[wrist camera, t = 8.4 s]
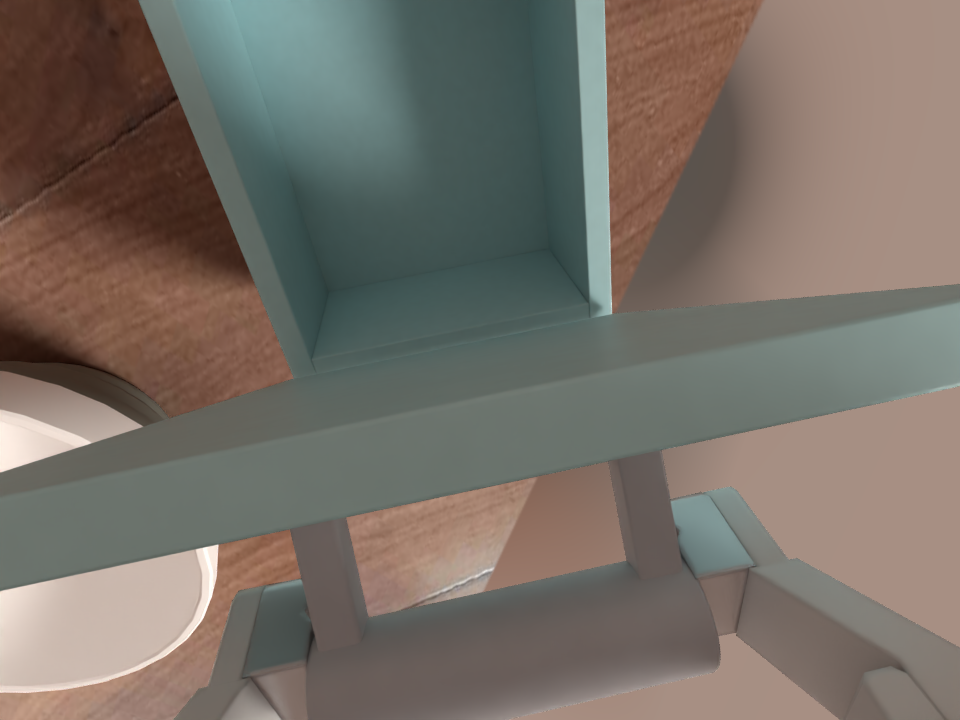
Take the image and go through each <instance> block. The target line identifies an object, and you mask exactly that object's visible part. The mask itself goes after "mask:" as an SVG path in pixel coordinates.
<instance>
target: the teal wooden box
mask: <svg viewBox="0 0 960 720" xmlns="http://www.w3.org/2000/svg"><path fill="white" fill-rule="evenodd" d="M138 1H139V4H140V6H141V9H142V11H143V14H144V16H145V18H146V21H147V23H148V26H149V28H150V31H151V33H152V35H153V38H154V40H155V43H156V45H157V47H158V50H159V52H160V55H161V57H162V60H163V62H164V64H165V67H166V69H167V72H168V74H169V77H170V79H171V81H172V84H173V86H174V89H175V91H176V94H177V96H178V98H179V101H180V103H181V106H182V108H183V111H184V113H185V115H186V118H187V120H188V123H189V125H190V128H191V130H192V132H193V135H194V137H195V140H196V142H197V144H198V147H199V149H200V152H201V154H202V157H203V159H204V161H205V164H206V166H207V169H208V171H209V174H210V176H211V178H212V181H213V183H214V186H215V188H216V191H217V193H218V195H219V198H220V200H221V203H222V205H223V208H224V210H225V212H226V215H227V217H228V220H229V222H230V224H231V227H232V229H233V232H234V234H235V237H236V239H237V241H238V244H239V246H240V249H241V251H242V254H243V256H244V258H245V261H246V263H247V266H248V268H249V271H250V273H251V275H252V278H253V280H254V283H255V285H256V288H257V290H258V292H259V295H260V297H261V300H262V302H263V305H264V307H265V309H266V312H267V314H268V317H269V319H270V321H271V324H272V326H273V329H274V331H275V334H276V336H277V338H278V341H279V343H280V346H281V348H282V351H283V353H284V355H285V358H286V360H287V363H288V365H289V368H290V370H291V372H292V375H293V377H294V379H295V378H300V377H305V376H310V375H315V374H319V373H324V372H329V371H334V370H339V369H344V368H349V367H354V366H359V365H364V364H369V363H374V362H378V361H383V360H388V359H393V358H398V357H403V356H408V355H413V354H418V353H423V352H428V351H432V350H437V349H442V348H447V347H452V346H457V345H462V344H467V343H472V342H477V341H482V340H487V339H491V338H496V337H501V336H506V335H511V334H516V333H521V332H526V331H531V330H536V329H541V328H546V327H550V326H555V325H560V324H565V323H570V322H575V321H580V320H585V319H590V318H595V317H600V316H604V315H609V314H612V298H611V256H610V214H609V171H608V129H607V87H606V44H605V2H604V0H138Z"/></svg>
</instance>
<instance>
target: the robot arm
mask: <svg viewBox="0 0 960 720" xmlns="http://www.w3.org/2000/svg"><path fill="white" fill-rule="evenodd" d="M670 500H671V505H672V511H673V517H674V522H675V528H676V533H677V539H678V544H679V550H680V555H681V558H682V559H683V560H684V562H685V563H686V564H687V566H688V567H689V569H690V571H691V572H692V574H693V576H694V578H695V580H698V581H699V582H700V584H701V586H702V588H703V591H704V593H705V595H706V598H707V600H708V603H709V605H710V608H711V611H712V614H713V617H714V621H715V624H716V628H717V633H718V636H720V635H726V634H731V633H736V632H737V633H736V636H738V637H739V638H740V639H741V640H743V641H744V642H745V643H746V644H747V645H749V646H750V647H751V648H753V649H754V650H755V651H756V652H757V653H759V654H760V655H761V656H762V657H763V658H765V659H766V660H767V661H768V662H770V663H771V664H772V665H773V666H774V667H776V668H777V669H778V670H779V671H781V672H782V673H783V674H785V675H786V676H787V677H788V678H789V679H790V680H792V681H793V682H794V683H795V684H797V685H798V686H799V687H800V688H802V689H803V690H804V691H805V692H806V693H808V694H809V695H810V696H811V697H813V698H814V699H815V700H816V701H818V702H819V703H820V704H821V705H823V706H824V707H825V708H826V709H827V710H829V711H830V712H831V713H832V714H834V715H835V716H836V717H838V718H839V719H840V720H960V648H959V647H958V646H956V645H954V644H952V643H950V642H949V641H947V640H945V639H943V638H941V637H939V636H938V635H936V634H934V633H932V632H931V631H929V630H927V629H925V628H923V627H921V626H920V625H918V624H916V623H914V622H912V621H910V620H908V619H907V618H905V617H903V616H901V615H899V614H898V613H896V612H894V611H892V610H891V609H889V608H887V607H885V606H883V605H881V604H880V603H878V602H876V601H874V600H872V599H870V598H869V597H867V596H865V595H863V594H861V593H859V592H858V591H856V590H854V589H852V588H850V587H849V586H847V585H845V584H843V583H841V582H840V581H838V580H836V579H834V578H832V577H831V576H829V575H827V574H825V573H823V572H821V571H820V570H818V569H816V568H814V567H812V566H810V565H809V564H807V563H805V562H803V561H801V560H800V559H798V558H796V559H790V560H789V559H788V558H787V557H786V555H785V554H784V553H783V551H782V550H781V549H780V547H779V546H778V545H777V543H776V542H775V541H774V540H773V538H772V537H771V535H770V534H769V533H768V531H767V530H766V529H765V527H764V526H763V525H762V523H761V522H760V521H759V519H758V518H757V517H756V515H755V514H754V513H753V511H752V510H751V509H750V507H749V506H748V505H747V503H746V502H745V501H744V499H743V498H742V497H741V495H740V494H739V493H738V491H737V490H735V489H734V488H732V487H726V488H721V489H717V490H712V491H708V492H704V493H702V492H700V493H695V494H691V495H686V496H682V497H678V498H673V499H670ZM314 637H315V635H314V631H313V626H312V622H311V618H310V613H309V609H308V605H307V600H306V596H305V592H304V588H303V583H302V579H296V580H291V581H285V582H280V583H275V584H269V585H264V586H259V587H254V588H249V589H244V590H239V591H238V593H237V594H236V596H235V597H234V599H233V600H232V603H231V607H230V610H229V614H228V617H227V621H226V624H225V628H224V631H223V635H222V638H221V642H220V645H219V648H218V652H217V655H216V659H215V662H214V666H213V669H212V673H211V676H210V680H209V683H208V686H207V687H203V688H199V689H198V690H197V691H196V693H195V694H194V695H193V696H192V697H191V699H190V700H189V701H188V702H187V704H186V705H185V706H184V707H183V708H182V710H181V711H180V712H179V713H178V714H177V716H176V717H175V718H174V719H173V720H308V717H307V708H306V669H307V663H308V657H309V652H310V648H311V644H312V641H313V639H314Z"/></svg>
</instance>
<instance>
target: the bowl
mask: <svg viewBox="0 0 960 720" xmlns="http://www.w3.org/2000/svg"><path fill="white" fill-rule="evenodd" d="M166 419H169V417H168V416H167V415H166V413H165V412H164V411H163V410H162V409H161V407H160V406H159V405H158V404H157V403H156V402H154V401H153V400H152V399H151V398H150V397H148V396H147V395H146V394H145V393H144V392H142V391H141V390H139V389H137V388H136V387H134V386H132V385H131V384H129V383H127V382H126V381H124V380H121V379H119V378H117V377H115V376H112V375H110V374H108V373H105V372H102V371H99V370H95V369H92V368H88V367H84V366H80V365H72V364H65V363H29V362H21V361H0V472H3V471H6V470H10V469H13V468H16V467H19V466H22V465H25V464H28V463H31V462H35V461H38V460H41V459H44V458H47V457H50V456H53V455H56V454H60V453H63V452H66V451H69V450H72V449H75V448H78V447H81V446H85V445H88V444H91V443H94V442H97V441H100V440H103V439H106V438H110V437H113V436H116V435H119V434H122V433H125V432H128V431H131V430H135V429H138V428H141V427H144V426H147V425H150V424H153V423H156V422H160V421H163V420H166ZM217 561H218V545H214V546H209V547H205V548H200V549H195V550H191V551H186V552H181V553H177V554H172V555H167V556H163V557H158V558H153V559H149V560H144V561H139V562H134V563H130V564H125V565H120V566H116V567H111V568H106V569H102V570H97V571H92V572H88V573H83V574H78V575H74V576H69V577H64V578H59V579H55V580H50V581H45V582H41V583H36V584H31V585H27V586H22V587H17V588H13V589H8V590H3V591H0V692H17V693H30V692H41V691H52V690H63V689H71V688H76V687H81V686H86V685H91V684H96V683H101V682H105V681H108V680H111V679H114V678H117V677H120V676H123V675H126V674H129V673H132V672H135V671H137V670H139V669H141V668H143V667H145V666H147V665H149V664H151V663H153V662H155V661H157V660H159V659H161V658H163V657H165V656H166V655H167V654H169V653H170V652H171V651H173V650H174V649H175V648H176V647H178V646H179V645H180V644H182V643H183V642H184V641H185V640H187V639H188V637H189V636H190V635H191V634H192V632H193V631H194V630H195V629H196V627H197V626H198V625H199V623H200V622H201V621H202V620H203V618H204V615H205V613H206V610H207V607H208V605H209V602H210V600H211V597H212V594H213V590H214V585H215V581H216V577H217Z"/></svg>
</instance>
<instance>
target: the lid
mask: <svg viewBox="0 0 960 720" xmlns="http://www.w3.org/2000/svg"><path fill="white" fill-rule="evenodd" d="M959 386H960V284H956V285H945V286H933V287H922V288H910V289H898V290H886V291H874V292H862V293H851V294H839V295H828V296H815V297H805V298H804V297H803V298H792V299H780V300H770V301H757V302H746V303H733V304H722V305H709V306H699V307H698V306H697V307H686V308H674V309H662V310H652V311H651V310H650V311H639V312H627V313H615V314H609V315H604V316H600V317H595V318H590V319H585V320H580V321H575V322H570V323H565V324H560V325H555V326H550V327H546V328H541V329H536V330H531V331H526V332H521V333H516V334H511V335H506V336H501V337H496V338H491V339H487V340H482V341H477V342H472V343H467V344H462V345H457V346H452V347H447V348H442V349H437V350H432V351H428V352H423V353H418V354H413V355H408V356H403V357H398V358H393V359H388V360H383V361H378V362H374V363H369V364H364V365H359V366H354V367H349V368H344V369H339V370H334V371H329V372H324V373H319V374H315V375H310V376H305V377H300V378H295V379H291V380H288V381H284V382H281V383H278V384H275V385H272V386H269V387H266V388H263V389H259V390H256V391H253V392H250V393H247V394H244V395H241V396H238V397H234V398H231V399H228V400H225V401H222V402H219V403H216V404H213V405H209V406H206V407H203V408H200V409H197V410H194V411H191V412H188V413H184V414H181V415H178V416H175V417H172V418H169V419H166V420H163V421H160V422H156V423H153V424H150V425H147V426H144V427H141V428H138V429H135V430H131V431H128V432H125V433H122V434H119V435H116V436H113V437H110V438H106V439H103V440H100V441H97V442H94V443H91V444H88V445H85V446H81V447H78V448H75V449H72V450H69V451H66V452H63V453H60V454H56V455H53V456H50V457H47V458H44V459H41V460H38V461H35V462H31V463H28V464H25V465H22V466H19V467H16V468H13V469H10V470H6V471H3V472H0V591H3V590H8V589H13V588H17V587H22V586H27V585H31V584H36V583H41V582H45V581H50V580H55V579H59V578H64V577H69V576H74V575H78V574H83V573H88V572H92V571H97V570H102V569H106V568H111V567H116V566H120V565H125V564H130V563H134V562H139V561H144V560H149V559H153V558H158V557H163V556H167V555H172V554H177V553H181V552H186V551H191V550H195V549H200V548H205V547H209V546H214V545H219V544H223V543H228V542H233V541H238V540H242V539H247V538H252V537H256V536H261V535H266V534H270V533H275V532H280V531H284V530H289V529H290V532H291V536H292V540H293V545H294V549H295V553H296V557H297V562H298V566H299V570H300V575H301V579H302V583H303V588H304V592H305V596H306V600H307V605H308V609H309V613H310V618H311V622H312V626H313V631H314V635H315V637H314V639H313V641H312V644H311V648H310V652H309V657H308V663H307V669H306V708H307V717H308V720H509V719H513V718H517V717H522V716H526V715H530V714H535V713H539V712H544V711H548V710H552V709H557V708H561V707H565V706H570V705H574V704H578V703H583V702H587V701H591V700H596V699H600V698H604V697H609V696H613V695H618V694H622V693H626V692H631V691H635V690H639V689H644V688H647V687H652V686H657V685H661V684H665V683H670V682H674V681H679V680H683V679H687V678H692V677H696V676H700V675H705V674H709V673H713V672H715V671H716V670H717V669H718V667H719V665H720V644H719V638H718V633H717V628H716V624H715V621H714V617H713V614H712V611H711V608H710V605H709V603H708V600H707V598H706V595H705V593H704V591H703V588H702V586H701V584H700V582H699V581H698V580H695V578H694V576H693V574H692V572H691V571H690V569H689V567H688V566H687V564H686V563H685V562H684V560H683V559H682V558H681V555H680V550H679V544H678V539H677V533H676V528H675V522H674V517H673V511H672V505H671V500H670V495H669V489H668V484H667V478H666V473H665V467H664V461H663V456H662V450H663V449H668V448H673V447H678V446H683V445H687V444H691V443H696V442H701V441H706V440H711V439H715V438H720V437H725V436H729V435H734V434H739V433H743V432H748V431H753V430H757V429H762V428H767V427H771V426H776V425H781V424H785V423H790V422H795V421H799V420H804V419H809V418H814V417H818V416H823V415H828V414H832V413H837V412H842V411H846V410H851V409H856V408H861V407H865V406H870V405H874V404H879V403H884V402H888V401H893V400H898V399H902V398H907V397H912V396H917V395H921V394H926V393H930V392H935V391H940V390H945V389H949V388H954V387H959ZM607 461H608V464H609V469H610V475H611V480H612V486H613V491H614V496H615V502H616V506H617V512H618V517H619V523H620V528H621V534H622V539H623V543H624V550H625V555H626V560H627V561H623V562H619V563H614V564H610V565H605V566H600V567H596V568H591V569H587V570H582V571H578V572H573V573H569V574H564V575H559V576H555V577H551V578H546V579H541V580H537V581H533V582H528V583H523V584H519V585H514V586H510V587H505V588H500V589H496V590H491V591H487V592H482V593H478V594H473V595H469V596H464V597H460V598H455V599H451V600H446V601H441V602H437V603H432V604H428V605H423V606H419V607H414V608H410V609H405V610H401V611H396V612H392V613H387V614H383V615H378V616H373V617H369V618H368V613H367V609H366V604H365V600H364V595H363V591H362V586H361V582H360V578H359V573H358V569H357V564H356V560H355V555H354V551H353V546H352V542H351V538H350V533H349V529H348V524H347V520H346V517H350V516H355V515H359V514H364V513H369V512H373V511H378V510H383V509H387V508H392V507H397V506H401V505H406V504H411V503H416V502H420V501H425V500H430V499H434V498H439V497H444V496H448V495H453V494H458V493H462V492H467V491H472V490H476V489H481V488H486V487H490V486H495V485H500V484H505V483H509V482H514V481H519V480H523V479H528V478H533V477H537V476H542V475H547V474H551V473H556V472H561V471H565V470H570V469H575V468H579V467H584V466H589V465H594V464H598V463H603V462H607Z"/></svg>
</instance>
